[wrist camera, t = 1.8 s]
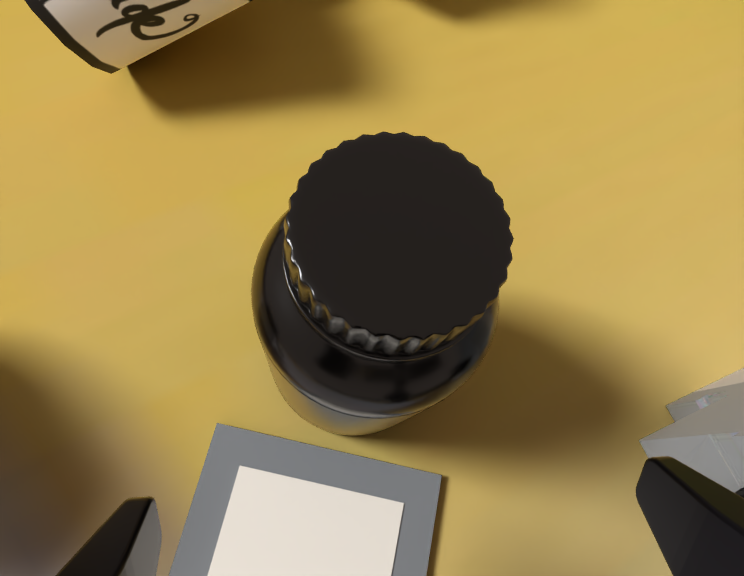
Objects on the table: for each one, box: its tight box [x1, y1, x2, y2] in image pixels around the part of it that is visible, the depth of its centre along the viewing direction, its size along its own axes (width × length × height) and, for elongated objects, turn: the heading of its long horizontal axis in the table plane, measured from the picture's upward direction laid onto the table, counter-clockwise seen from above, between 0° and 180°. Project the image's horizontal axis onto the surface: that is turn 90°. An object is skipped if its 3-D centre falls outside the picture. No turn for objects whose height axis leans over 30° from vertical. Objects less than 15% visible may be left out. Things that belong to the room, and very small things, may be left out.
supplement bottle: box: [251, 132, 514, 435], centre depth 16 cm, size 7×7×12 cm
